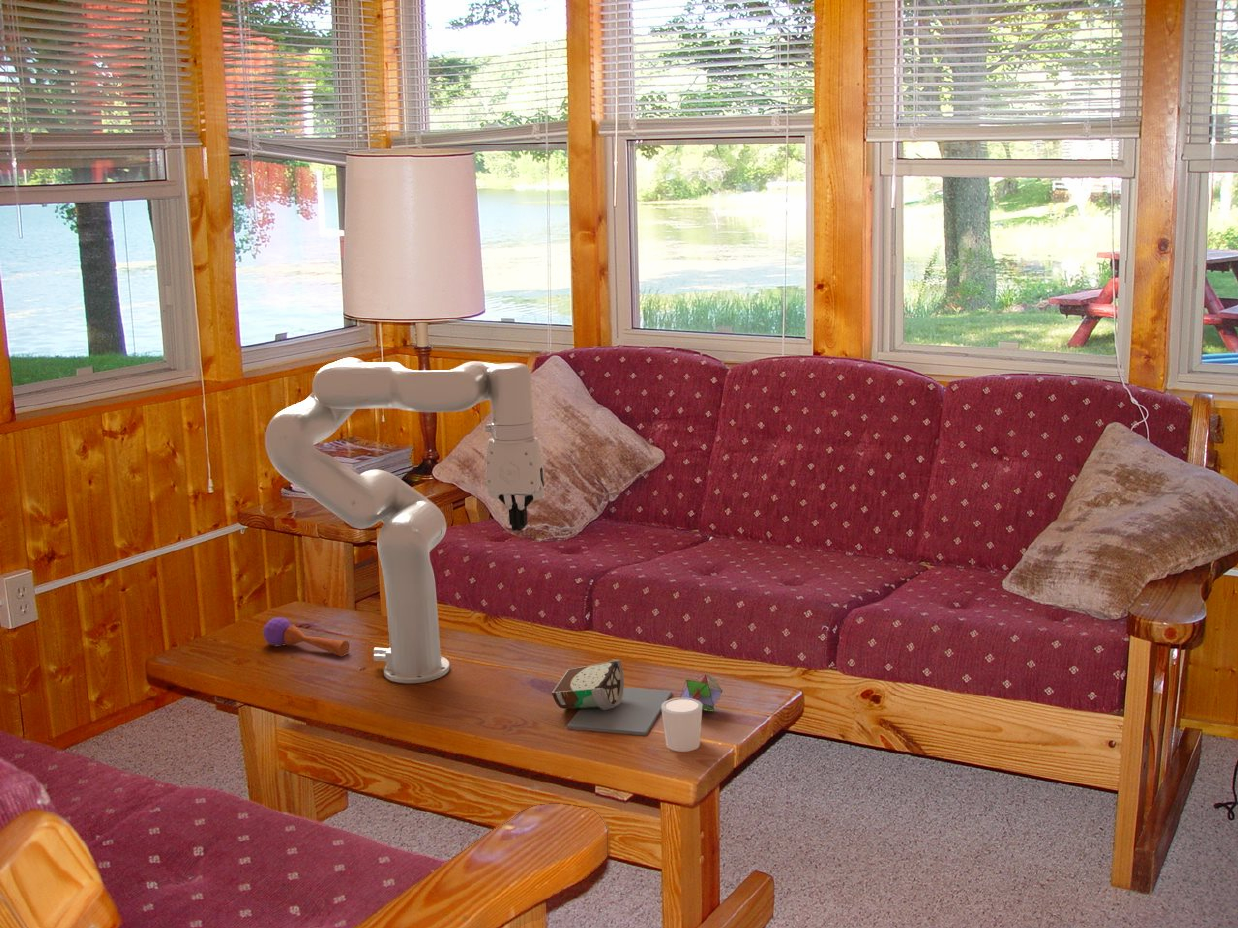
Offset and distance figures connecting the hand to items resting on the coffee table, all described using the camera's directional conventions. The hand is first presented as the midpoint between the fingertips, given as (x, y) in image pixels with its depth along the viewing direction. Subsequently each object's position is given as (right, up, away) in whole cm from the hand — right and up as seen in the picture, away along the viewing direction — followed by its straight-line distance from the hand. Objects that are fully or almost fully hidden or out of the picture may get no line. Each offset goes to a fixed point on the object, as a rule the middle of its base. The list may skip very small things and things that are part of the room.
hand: (518, 528), depth 245 cm
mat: (+19, -32, -11) cm, 38 cm away
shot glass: (+29, -35, -25) cm, 52 cm away
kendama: (-45, -26, +26) cm, 58 cm away
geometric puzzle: (+33, -32, -13) cm, 48 cm away
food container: (+9, -30, -8) cm, 32 cm away
